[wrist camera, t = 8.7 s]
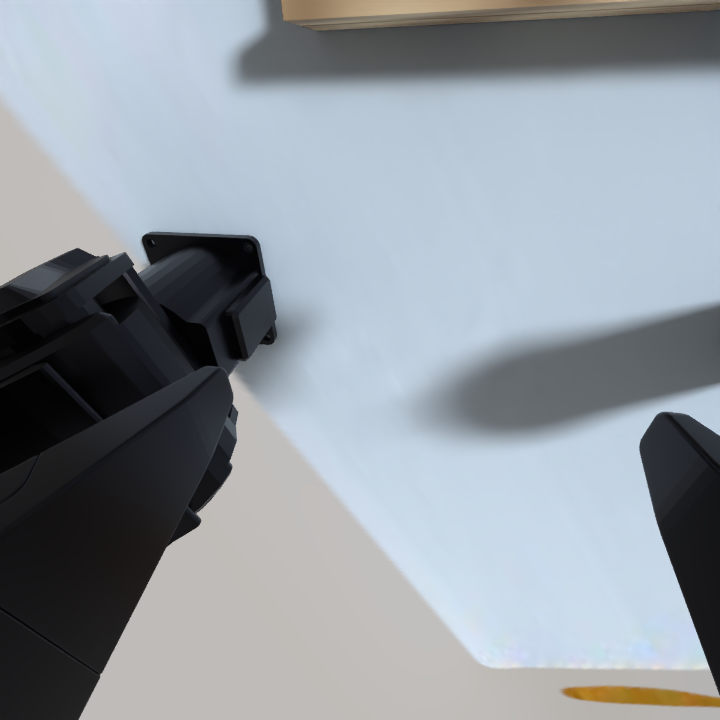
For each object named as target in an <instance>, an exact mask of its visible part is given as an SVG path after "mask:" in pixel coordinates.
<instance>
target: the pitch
mask: <svg viewBox="0 0 720 720" xmlns="http://www.w3.org/2000/svg"><path fill="white" fill-rule="evenodd" d="M281 4H282V13H283V21H286V22H289V23H292V24H296V25H299V26H302V27H305V28H308V29H312V30H315V31H323V30H343V29H362V28H382V27H402V26H421V25H441V24H460V23H480V22H500V21H519V20H539V19H559V18H578V17H598V16H617V15H637V14H657V13H676V12H696V11H711V10H716V9H720V0H281Z"/></svg>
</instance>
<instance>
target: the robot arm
mask: <svg viewBox="0 0 720 720" xmlns="http://www.w3.org/2000/svg"><path fill="white" fill-rule="evenodd" d="M151 239H152V240H153V241H154V242H155V244H156V245H154V244H153V243H152V241H151ZM142 242H143V245H144V248H145V250H146V253H147V256H148V258H149V261H150V264H151V266H149V267H148V268H146V269H145V270H143V271H141V272H140V273H138V274H137V272H136V271H135V270H134V268H133V267H132V266H133V265H134V264H133V262H132V261H131V259H130V258H129V256H128V255H127V254H126V252H124V253H121V254H119V255H116V256H113V257H110V258H109V256H108V255H104V256H102V257H99V256H97V257H96V256H94V255H91V254H89V253H87V252H85V251H83V250H81V249H79V248H76V249H74V250H71V251H69V252H66V253H64V254H62V255H60V256H58V257H56V258H54V259H52V260H50V261H48V262H45V263H43V264H41V265H39V266H37V267H35V268H33V269H31V270H29V271H27V272H25V273H23V274H21V275H20V276H18V277H16V278H14V279H12V280H11V281H9V282H7V283H5V284H4V285H2V286H0V720H79V718H80V716H81V714H82V712H83V710H84V708H85V706H86V704H87V702H88V700H89V698H90V696H91V694H92V692H93V690H94V688H95V686H96V684H97V682H98V680H99V679H100V674H101V673H102V672H103V670H104V668H105V666H106V664H107V662H108V660H109V658H110V656H111V654H112V652H113V650H114V648H115V646H116V645H117V643H118V641H119V639H120V637H121V635H122V633H123V631H124V629H125V627H126V625H127V623H128V621H129V619H130V617H131V615H132V613H133V611H134V609H135V607H136V606H137V604H138V602H139V600H140V598H141V596H142V594H143V592H144V590H145V588H146V586H147V584H148V582H149V580H150V578H151V576H152V574H153V572H154V570H155V568H156V566H157V564H158V563H159V560H160V559H161V556H162V555H163V553H164V551H165V549H166V547H167V546H169V545H170V544H171V543H172V542H173V541H175V540H177V539H179V538H180V537H182V536H184V535H185V534H187V533H189V532H190V531H192V530H193V529H195V528H197V527H198V526H199V525H200V523H201V519H200V517H198V515H197V514H196V513H197V512H199V511H200V510H201V509H202V508H203V507H204V506H205V505H206V504H207V503H208V502H209V501H210V500H211V499H212V498H213V497H214V495H215V494H216V493H217V491H218V490H219V489H220V488H221V487H222V485H223V484H224V482H225V481H226V479H227V478H228V476H229V475H230V473H231V470H232V464H231V463H230V462H229V461H230V459H231V456H232V453H233V450H234V447H235V444H236V441H237V437H236V427H235V426H236V421H237V416H238V411H237V410H236V408H235V407H234V405H233V404H232V403H233V392H232V389H231V385H230V382H229V379H228V377H229V375H230V374H231V372H232V371H233V370H234V368H235V367H236V365H237V364H238V363H239V361H246V360H247V359H248V358H249V357H250V356H251V355H252V353H253V352H254V350H255V349H256V348H257V346H258V345H259V344H266V345H270V344H273V343H274V341H275V339H276V338H277V333H276V328H275V322H274V321H275V320H276V312H275V306H274V301H273V295H272V290H271V284H270V280H269V278H268V277H267V276H266V274H265V269H264V264H263V258H262V253H261V248H260V244H259V242H258V240H257V239H256V238H254V237H253V236H249V235H223V234H198V233H173V232H149V233H147V234H145V235H144V236H143V238H142ZM246 243H249V244H250V245H251V246H252V248H253V250H250V249H249V248H248V247H247V245H246ZM265 334H267V335H269V336H270V338H269V337H267V336H266V335H265ZM639 448H640V455H641V459H642V463H643V468H644V472H645V476H646V480H647V484H648V488H649V493H650V497H651V501H652V505H653V509H654V513H655V517H656V521H657V524H658V527H659V530H660V533H661V536H662V539H663V542H664V544H665V547H666V550H667V553H668V555H669V558H670V561H671V564H672V566H673V569H674V572H675V574H676V577H677V580H678V583H679V585H680V588H681V591H682V594H683V596H684V599H685V602H686V605H687V607H688V610H689V613H690V615H691V618H692V621H693V624H694V626H695V629H696V632H697V635H698V637H699V640H700V643H701V646H702V648H703V651H704V654H705V656H706V659H707V662H708V665H709V667H710V670H711V673H712V676H713V678H714V681H715V684H716V686H717V689H718V692H719V695H720V436H719V435H718V434H716V433H715V432H713V431H712V430H710V429H708V428H707V427H705V426H704V425H702V424H701V423H699V422H698V421H696V420H695V419H693V418H692V417H690V416H689V415H686V414H682V413H673V412H661V413H659V414H657V415H656V417H655V418H654V420H653V421H652V423H651V424H650V426H649V428H648V429H647V431H646V432H645V434H644V436H643V437H642V439H641V441H640V447H639Z"/></svg>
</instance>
